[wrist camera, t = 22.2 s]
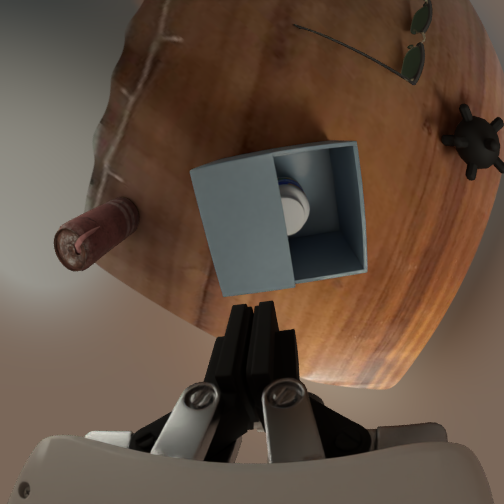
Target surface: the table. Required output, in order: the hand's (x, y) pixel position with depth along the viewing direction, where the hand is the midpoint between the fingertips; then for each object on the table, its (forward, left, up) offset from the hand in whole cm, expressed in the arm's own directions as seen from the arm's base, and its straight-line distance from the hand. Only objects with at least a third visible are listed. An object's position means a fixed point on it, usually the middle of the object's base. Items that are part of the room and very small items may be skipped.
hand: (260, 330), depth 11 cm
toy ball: (+30, +6, -27) cm, 41 cm away
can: (-23, +2, -27) cm, 35 cm away
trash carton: (+1, 0, -27) cm, 27 cm away
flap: (-2, 0, -14) cm, 15 cm away
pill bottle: (+1, 0, -27) cm, 27 cm away
